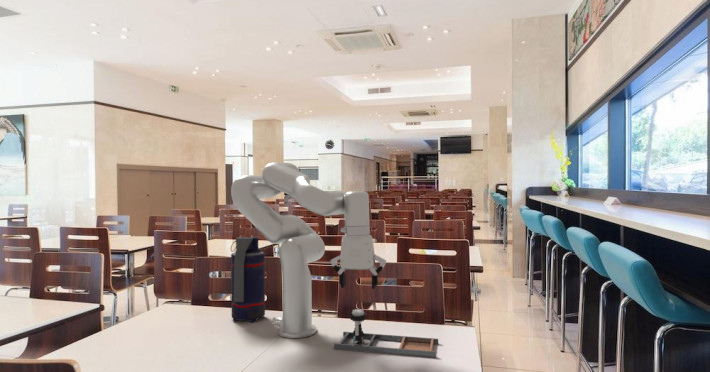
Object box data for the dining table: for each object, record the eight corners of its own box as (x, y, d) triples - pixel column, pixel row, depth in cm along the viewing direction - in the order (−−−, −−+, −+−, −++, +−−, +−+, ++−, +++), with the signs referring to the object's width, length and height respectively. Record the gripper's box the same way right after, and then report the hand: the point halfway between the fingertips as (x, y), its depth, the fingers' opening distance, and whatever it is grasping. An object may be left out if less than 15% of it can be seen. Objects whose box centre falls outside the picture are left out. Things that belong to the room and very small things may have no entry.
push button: (363, 348, 129) (363, 315, 129) (346, 347, 131) (346, 313, 131) (368, 341, 136) (368, 308, 136) (352, 339, 137) (352, 307, 137)
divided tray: (333, 348, 129) (333, 343, 129) (343, 336, 140) (343, 331, 140) (436, 357, 122) (436, 352, 122) (438, 343, 133) (438, 338, 133)
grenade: (240, 313, 167) (240, 234, 167) (270, 314, 164) (269, 235, 164) (222, 324, 153) (222, 239, 153) (254, 326, 151) (253, 239, 151)
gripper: (326, 232, 132) (327, 289, 132) (383, 232, 128) (384, 291, 127) (333, 230, 139) (335, 284, 139) (387, 230, 135) (388, 285, 135)
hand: (358, 287), depth 133 cm, fingers open, 9 cm apart
